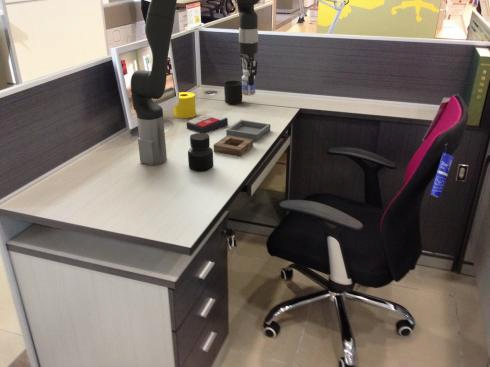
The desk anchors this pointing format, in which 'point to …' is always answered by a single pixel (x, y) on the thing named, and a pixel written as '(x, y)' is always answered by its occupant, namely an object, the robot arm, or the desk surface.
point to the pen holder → (233, 92)
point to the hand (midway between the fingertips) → (248, 83)
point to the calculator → (207, 123)
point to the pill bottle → (246, 88)
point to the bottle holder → (233, 145)
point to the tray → (248, 130)
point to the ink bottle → (200, 153)
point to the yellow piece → (185, 105)
